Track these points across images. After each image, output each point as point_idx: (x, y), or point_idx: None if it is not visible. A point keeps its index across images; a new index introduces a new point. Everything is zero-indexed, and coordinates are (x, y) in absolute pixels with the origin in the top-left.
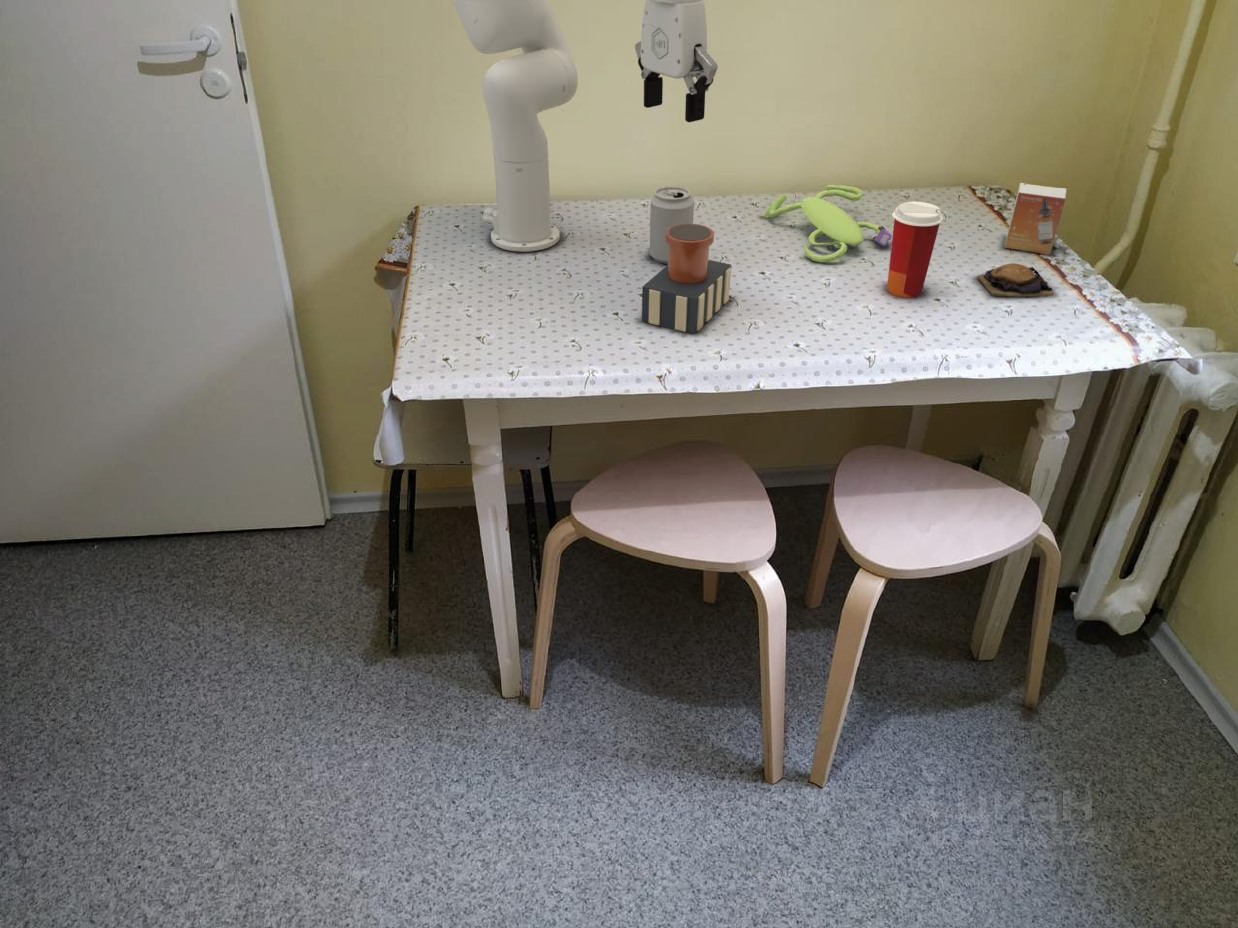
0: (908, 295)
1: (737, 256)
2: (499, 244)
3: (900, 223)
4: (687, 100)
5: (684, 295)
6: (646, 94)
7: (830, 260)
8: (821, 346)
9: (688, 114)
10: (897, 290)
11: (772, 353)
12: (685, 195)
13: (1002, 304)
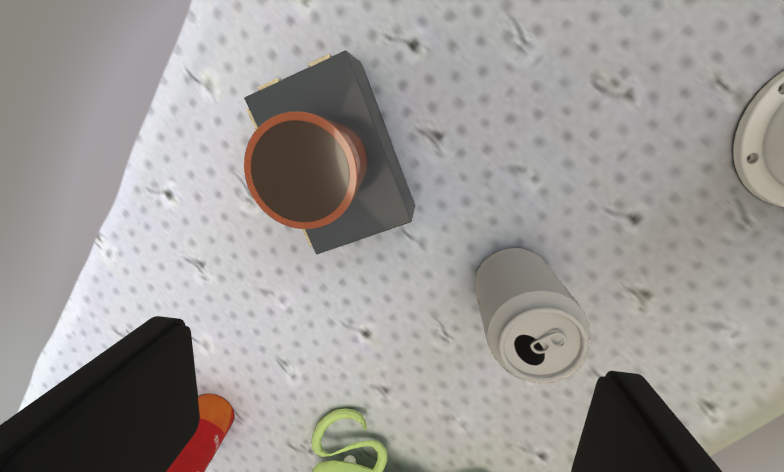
0: None
1: (434, 353)
2: None
3: None
4: (28, 416)
5: (265, 89)
6: (666, 450)
7: (323, 418)
8: (150, 217)
9: (125, 346)
10: (202, 398)
11: (167, 149)
12: (516, 360)
13: None
